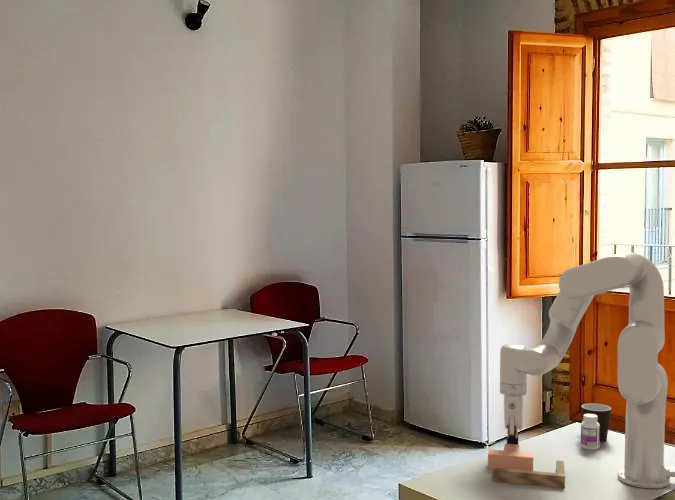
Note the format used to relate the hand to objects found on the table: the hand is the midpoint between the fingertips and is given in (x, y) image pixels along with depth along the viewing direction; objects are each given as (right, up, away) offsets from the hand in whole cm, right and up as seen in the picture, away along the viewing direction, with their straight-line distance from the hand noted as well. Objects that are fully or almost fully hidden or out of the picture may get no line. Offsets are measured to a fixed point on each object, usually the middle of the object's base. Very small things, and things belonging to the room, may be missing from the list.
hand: (512, 450), depth 221 cm
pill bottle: (+25, -1, +7) cm, 26 cm away
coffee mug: (+29, 0, +16) cm, 33 cm away
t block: (-2, -2, -7) cm, 8 cm away
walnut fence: (+1, -2, -16) cm, 17 cm away
